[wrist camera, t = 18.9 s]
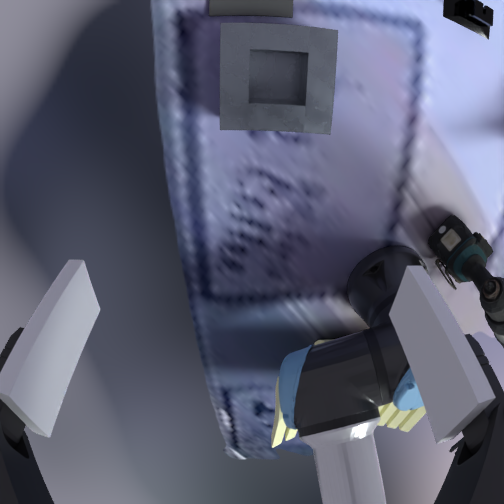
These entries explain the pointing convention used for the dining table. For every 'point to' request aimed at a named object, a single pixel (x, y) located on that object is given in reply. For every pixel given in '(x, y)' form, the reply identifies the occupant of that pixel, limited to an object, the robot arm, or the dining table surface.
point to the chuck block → (277, 77)
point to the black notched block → (470, 15)
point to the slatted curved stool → (388, 416)
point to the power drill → (470, 267)
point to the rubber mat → (251, 8)
